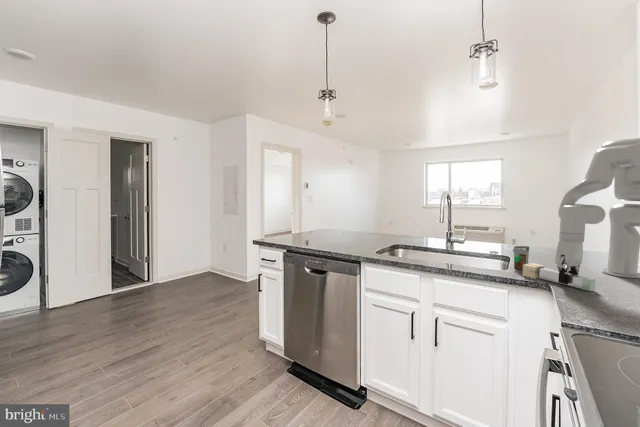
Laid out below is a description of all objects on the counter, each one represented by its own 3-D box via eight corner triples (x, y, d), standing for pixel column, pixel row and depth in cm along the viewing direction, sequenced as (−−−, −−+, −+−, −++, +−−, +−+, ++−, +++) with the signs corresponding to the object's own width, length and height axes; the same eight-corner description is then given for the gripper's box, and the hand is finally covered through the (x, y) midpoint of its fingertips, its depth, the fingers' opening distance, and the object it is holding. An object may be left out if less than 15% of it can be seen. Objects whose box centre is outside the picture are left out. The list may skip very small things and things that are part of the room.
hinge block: (531, 274, 136) (532, 263, 135) (543, 277, 131) (544, 265, 131) (522, 275, 133) (523, 264, 132) (534, 278, 128) (535, 267, 128)
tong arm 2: (541, 277, 129) (542, 268, 128) (544, 277, 130) (544, 267, 129) (592, 290, 113) (593, 279, 113) (594, 290, 114) (595, 279, 113)
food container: (513, 264, 153) (514, 244, 152) (528, 266, 149) (529, 246, 148) (509, 269, 143) (510, 248, 142) (525, 271, 139) (526, 250, 139)
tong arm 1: (539, 278, 128) (539, 268, 128) (541, 277, 129) (542, 268, 128) (589, 291, 112) (590, 280, 112) (592, 290, 113) (593, 279, 113)
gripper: (572, 234, 126) (568, 277, 127) (548, 236, 118) (544, 282, 120) (594, 237, 119) (591, 282, 120) (570, 240, 112) (566, 288, 113)
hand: (567, 281), depth 120 cm, fingers open, 5 cm apart
